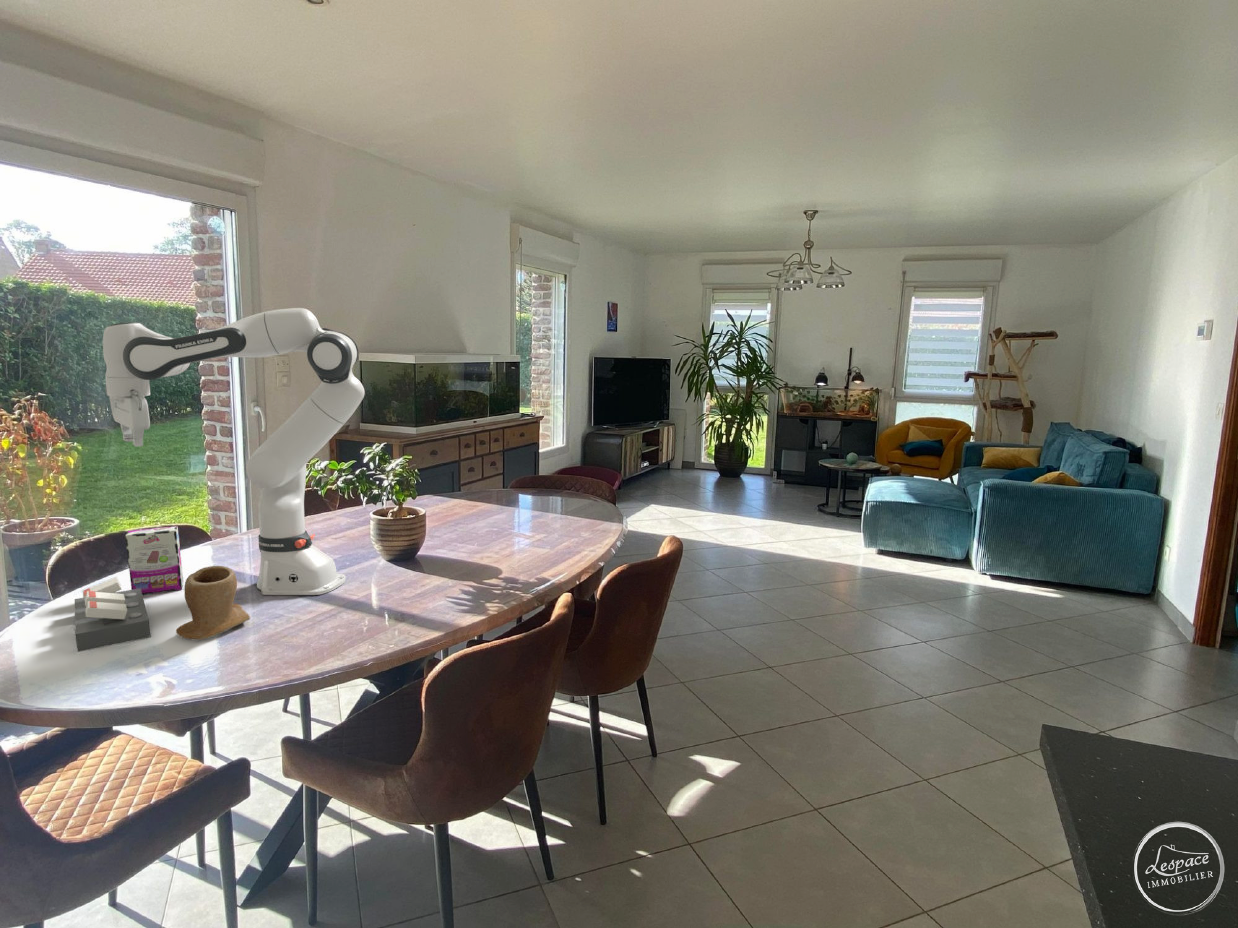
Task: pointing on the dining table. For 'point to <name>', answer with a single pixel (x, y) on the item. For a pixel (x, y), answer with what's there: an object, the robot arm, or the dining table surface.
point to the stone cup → (211, 603)
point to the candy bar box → (154, 560)
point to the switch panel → (112, 624)
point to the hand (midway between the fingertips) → (133, 443)
